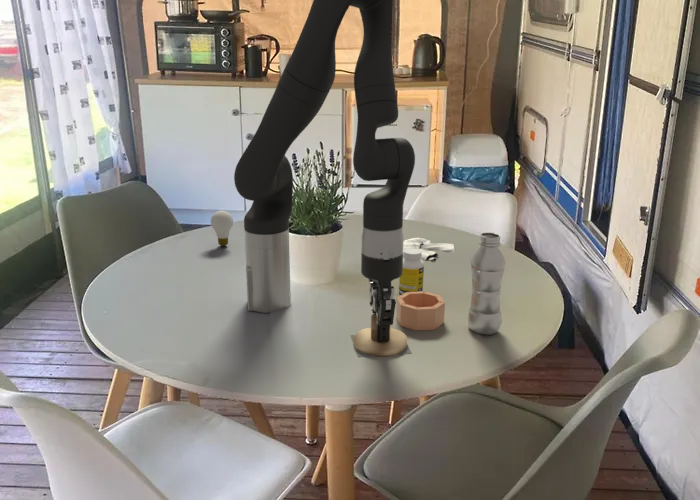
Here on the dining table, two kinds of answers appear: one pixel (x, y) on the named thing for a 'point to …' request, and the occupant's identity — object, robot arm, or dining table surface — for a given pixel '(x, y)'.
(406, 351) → the mat
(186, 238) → the dining table surface
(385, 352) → the lid
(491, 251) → the plastic bottle
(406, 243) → the cloth
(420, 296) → the bowl
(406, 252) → the supplement bottle
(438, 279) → the dining table surface
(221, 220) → the light bulb
